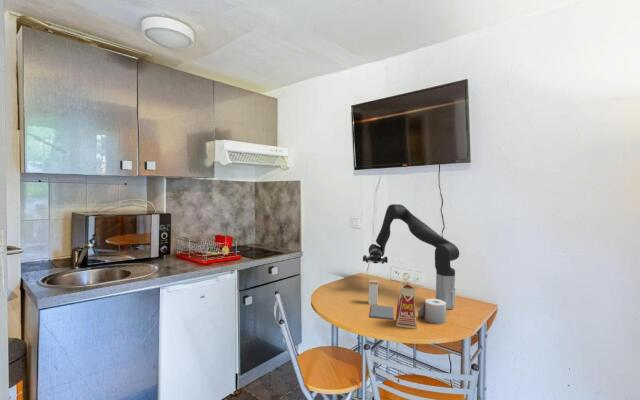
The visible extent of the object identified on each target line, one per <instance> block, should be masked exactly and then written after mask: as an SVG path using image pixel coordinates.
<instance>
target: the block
mask: <svg viewBox="0 0 640 400" xmlns="http://www.w3.org/2000/svg"><path fill="white" fill-rule="evenodd" d="M378 288H379V279H378V280H377V279H369V281H368V305H371V306H372V305H378V301H379V300H378V295H379V293H378V291H379V289H378Z"/></svg>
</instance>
